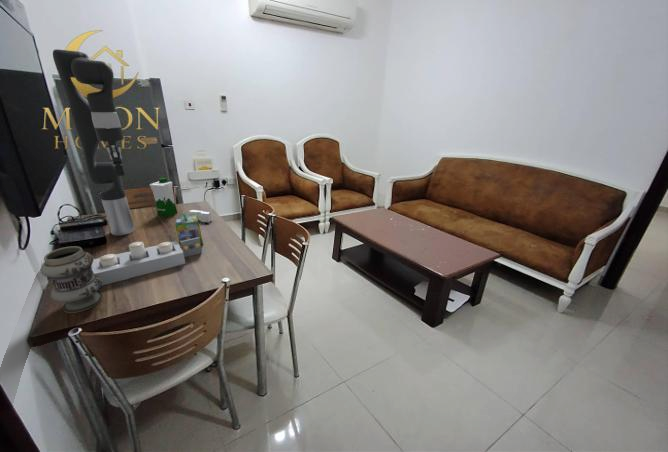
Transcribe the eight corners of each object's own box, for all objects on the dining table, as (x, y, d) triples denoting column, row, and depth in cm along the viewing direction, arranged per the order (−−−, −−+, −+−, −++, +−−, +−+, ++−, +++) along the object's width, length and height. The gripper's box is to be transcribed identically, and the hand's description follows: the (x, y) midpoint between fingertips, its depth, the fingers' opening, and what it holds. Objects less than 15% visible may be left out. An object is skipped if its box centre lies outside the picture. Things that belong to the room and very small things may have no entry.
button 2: (131, 255, 109) (128, 243, 107) (145, 252, 112) (142, 240, 110) (132, 260, 106) (128, 248, 104) (147, 257, 108) (143, 245, 106)
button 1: (103, 268, 105) (99, 256, 103) (119, 264, 108) (115, 252, 106) (103, 274, 102) (99, 261, 100) (119, 270, 104) (115, 258, 102)
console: (96, 271, 107) (92, 259, 105) (179, 251, 123) (177, 240, 121) (95, 287, 99) (91, 274, 97) (185, 263, 114) (183, 252, 112)
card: (183, 256, 119) (180, 241, 116) (201, 252, 123) (198, 237, 120) (184, 257, 118) (180, 242, 115) (202, 253, 122) (199, 238, 119)
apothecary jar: (72, 293, 95) (52, 244, 88) (113, 289, 98) (98, 241, 91) (48, 318, 84) (23, 264, 77) (96, 312, 87) (76, 260, 80)
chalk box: (203, 245, 129) (197, 214, 123) (180, 249, 125) (173, 217, 119) (201, 237, 136) (196, 207, 130) (180, 240, 132) (173, 210, 127)
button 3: (160, 254, 115) (157, 243, 113) (172, 251, 118) (170, 240, 116) (161, 259, 112) (159, 248, 110) (175, 256, 114) (172, 245, 112)
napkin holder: (185, 220, 156) (183, 210, 154) (206, 215, 163) (205, 205, 161) (195, 228, 146) (193, 218, 144) (217, 223, 153) (216, 213, 151)
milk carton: (180, 212, 165) (173, 177, 157) (169, 218, 157) (161, 181, 149) (166, 211, 166) (158, 176, 158) (154, 216, 158) (146, 180, 150)
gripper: (94, 124, 103) (108, 173, 110) (93, 127, 93) (108, 180, 100) (119, 124, 107) (131, 171, 114) (121, 127, 97) (134, 178, 104)
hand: (121, 175), depth 107 cm, fingers closed
